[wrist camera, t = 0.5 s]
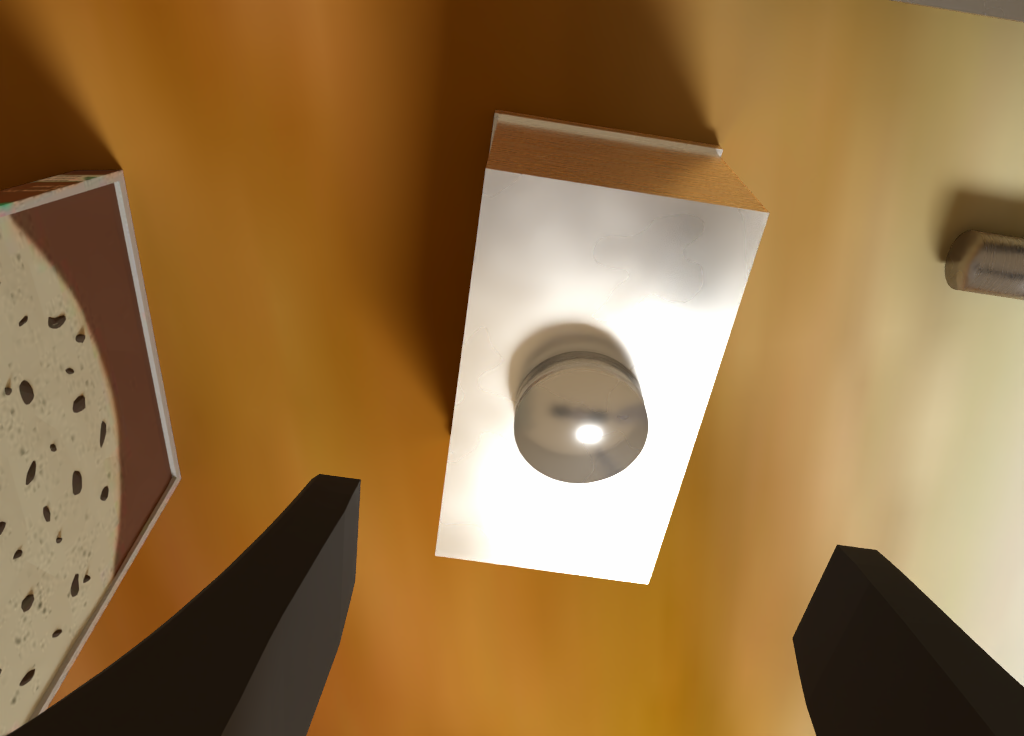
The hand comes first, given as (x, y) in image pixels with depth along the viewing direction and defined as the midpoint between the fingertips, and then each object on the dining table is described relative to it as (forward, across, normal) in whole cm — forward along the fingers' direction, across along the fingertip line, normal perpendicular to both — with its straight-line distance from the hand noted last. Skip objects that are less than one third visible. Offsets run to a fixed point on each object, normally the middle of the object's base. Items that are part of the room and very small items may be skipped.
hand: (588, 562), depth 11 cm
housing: (+9, 0, 0) cm, 9 cm away
